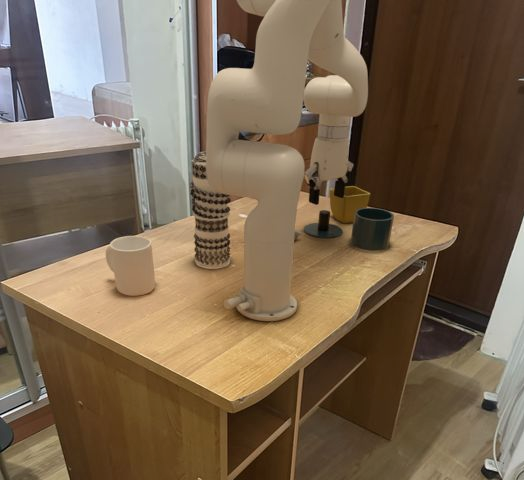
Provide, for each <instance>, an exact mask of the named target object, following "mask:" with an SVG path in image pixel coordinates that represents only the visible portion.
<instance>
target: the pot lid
mask: <svg viewBox="0 0 524 480" xmlns="http://www.w3.org/2000/svg"><path fill="white" fill-rule="evenodd" d="M330 218H331V210H326V209H322V210H320V211H319V213H318V222H313V223H308V224H305V226H304V227H303V233H305V234H306V235H307V236H310V237H313V238H318V239H335V238H339V237H340V236H342V234H343V229H342V228H341V227H340V226H338V225H336V224H332V223H330V220H331V219H330Z"/></svg>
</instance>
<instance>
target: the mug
mask: <svg viewBox="0 0 524 480" xmlns="http://www.w3.org/2000/svg"><path fill="white" fill-rule="evenodd" d="M152 245H153V244H152V241H151V239H149V238H148V237H145V236H141V235H125V236H121V237H117V238H115V239H113V240H112V241H110V243H109V245H108V246H107V247H106V250H105V260H106V264H107V266H108V267H109V269H110V271H111V272H112V273H113V274H114V281H115V287H116V290H117V292H118V293H120V294H122V295H124V296H130V297H138V296H139V297H140V296H144V295H147V294H149V293H151V292H152V291H154V289H155V287H156V278H155V277H156V275H155V266H154V256H153V247H152Z"/></svg>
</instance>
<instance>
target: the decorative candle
mask: <svg viewBox="0 0 524 480" xmlns="http://www.w3.org/2000/svg"><path fill="white" fill-rule="evenodd" d="M190 162H191V163H192V175H191V178H192V179H191V182H190V183H189V188H190V195H191V197H192V198H191V205H192V206H191V207H192V208H191V210H192V215H193V217H194V221H195V222H194V224H195V226H194V234H193V238H194V242H193V244H194V245H195V247H194V249H193V251H194V252H195V253H194V258H195V260H194V262H195V265H197V266H198V267H200V268H202V269H207V270H218V269H222V268H226V267H228V266H229V265H230V263H231V259H230V258H231V253H230V252H231V247H230V244H231V240H230V238H231V234H230V227H229V217H230V216H231V207H230V206H228V204H230V203H231V198H230V196H231V195H227V194H221V193H218V192H216V191H214V190H213V189H212V188H211V187H210V185H209V183H208V180H207V174H206V150H205V151H200V152H197V153H196V155H195V156H194V158H192V159H191V160H190Z"/></svg>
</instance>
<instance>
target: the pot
mask: <svg viewBox="0 0 524 480" xmlns="http://www.w3.org/2000/svg"><path fill="white" fill-rule="evenodd" d="M394 219H395V215H394V213H392V212H391V211H389V210H387V209H383V208H378V207H367V208H361V209H357V210H356V211H355V213H354V220H353V222H352V229H351V236H350V244H351V245H352V246H354V247H355V248H357V249H361V250H365V251H373V252H376V251H383V250H386V249H388V248H389V245H390V241H391V234H392V230H393V224H394Z"/></svg>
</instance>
